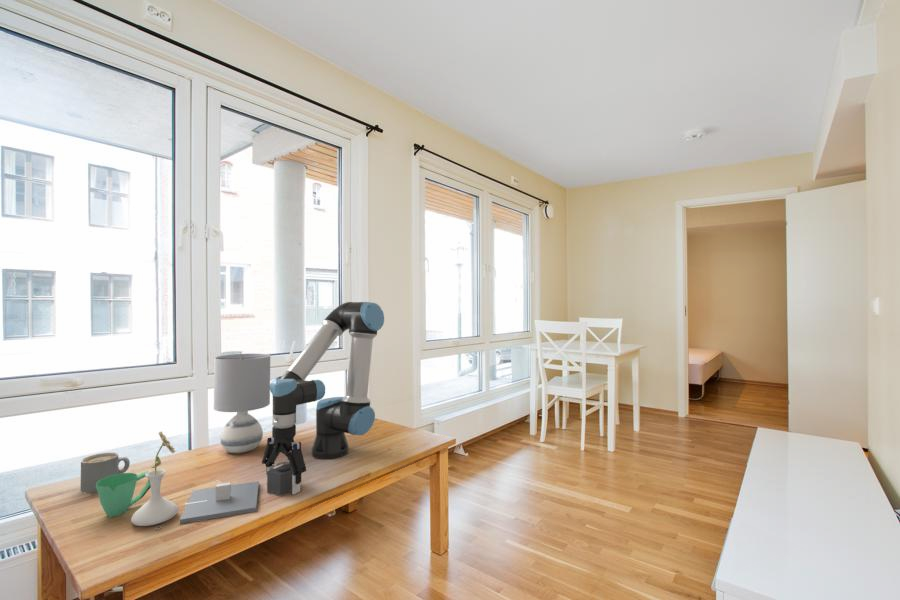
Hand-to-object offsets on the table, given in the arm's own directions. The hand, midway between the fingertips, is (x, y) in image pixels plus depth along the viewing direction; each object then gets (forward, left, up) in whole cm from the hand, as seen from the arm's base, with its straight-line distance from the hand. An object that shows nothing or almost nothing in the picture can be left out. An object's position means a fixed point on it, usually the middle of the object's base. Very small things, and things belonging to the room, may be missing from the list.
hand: (283, 488), depth 143 cm
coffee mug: (+57, -26, 0) cm, 63 cm away
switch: (+18, +3, 0) cm, 18 cm away
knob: (0, 0, 0) cm, 0 cm away
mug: (+45, -3, 0) cm, 45 cm away
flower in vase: (+35, +7, 0) cm, 36 cm away
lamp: (+16, -47, 0) cm, 50 cm away
